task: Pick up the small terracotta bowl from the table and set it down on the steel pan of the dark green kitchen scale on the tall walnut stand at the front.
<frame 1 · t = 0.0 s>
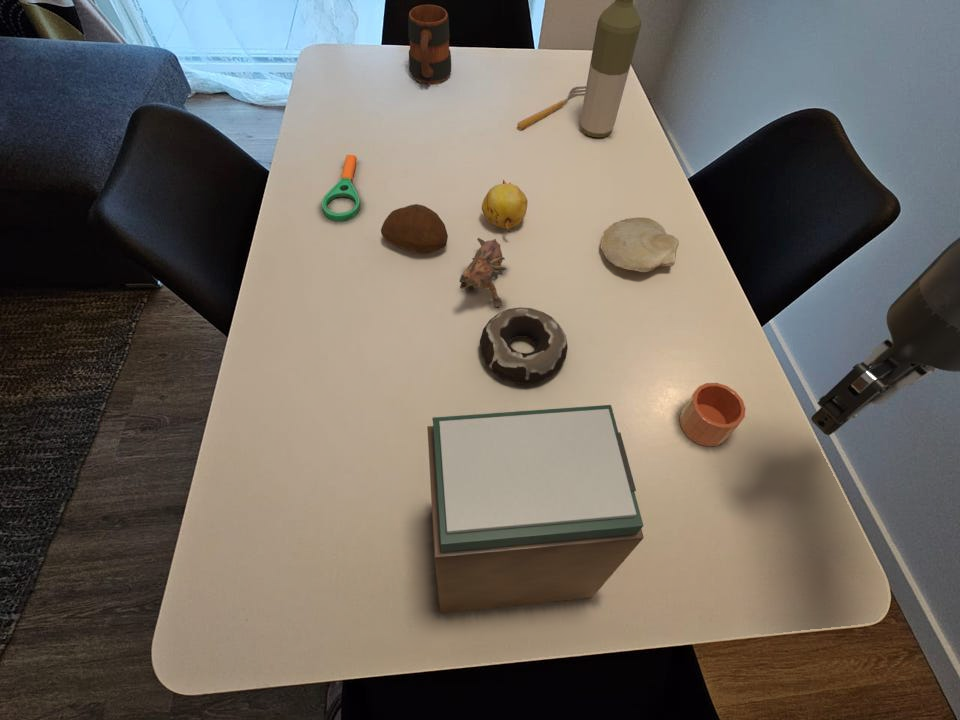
hand: (850, 407, 55), 16 cm above the table, tool pointing down, fingers open, 8 cm apart
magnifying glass: (345, 191, 96), on the table
dinosaur figurine: (485, 285, 85), on the table
stand: (510, 552, 62), on the table
scale: (530, 479, 46), resting on stand
donut: (522, 354, 78), on the table
fork: (554, 112, 112), on the table
bottle: (595, 131, 108), on the table
potato: (416, 244, 89), on the table
fruit: (503, 222, 93), on the table
seashell: (636, 255, 90), on the table
mug: (429, 79, 117), on the table
bowl: (704, 424, 72), on the table
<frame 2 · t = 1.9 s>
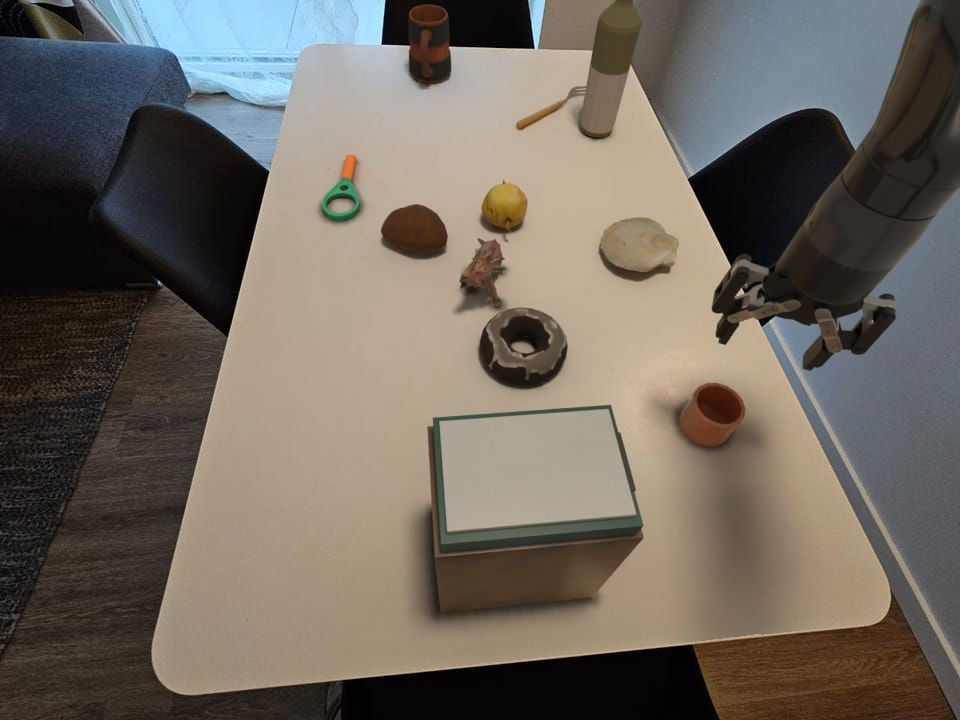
hand: (763, 350, 59), 16 cm above the table, tool pointing down, fingers open, 8 cm apart
nothing on the table moved.
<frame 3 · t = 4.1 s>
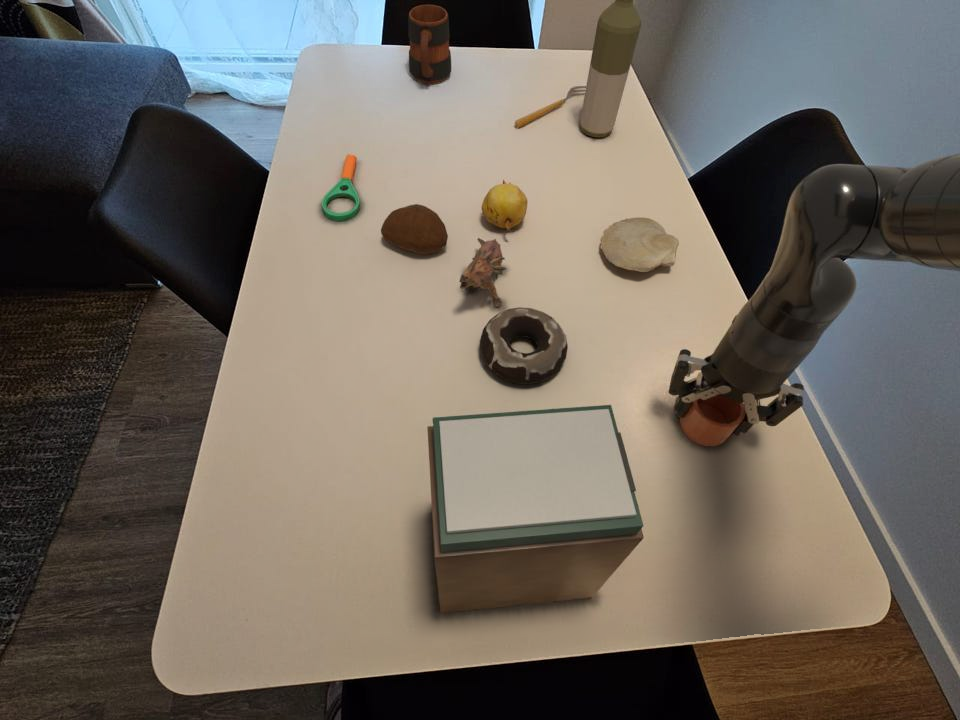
hand: (707, 419, 71), 1 cm above the table, tool pointing down, fingers closed on bowl, 6 cm apart
bowl: (704, 424, 72), on the table, touching gripper
everything else where it was.
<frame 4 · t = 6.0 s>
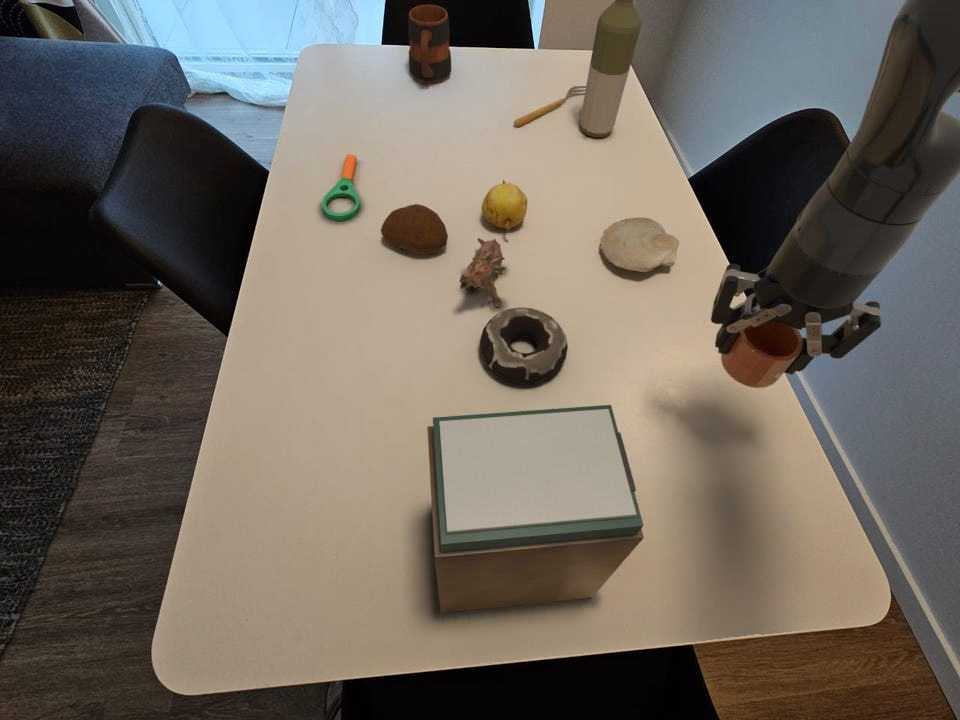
hand: (755, 357, 60), 15 cm above the table, tool pointing down, fingers closed on bowl, 6 cm apart
bowl: (750, 363, 61), point 14 cm above the table, touching gripper
everything else where it was.
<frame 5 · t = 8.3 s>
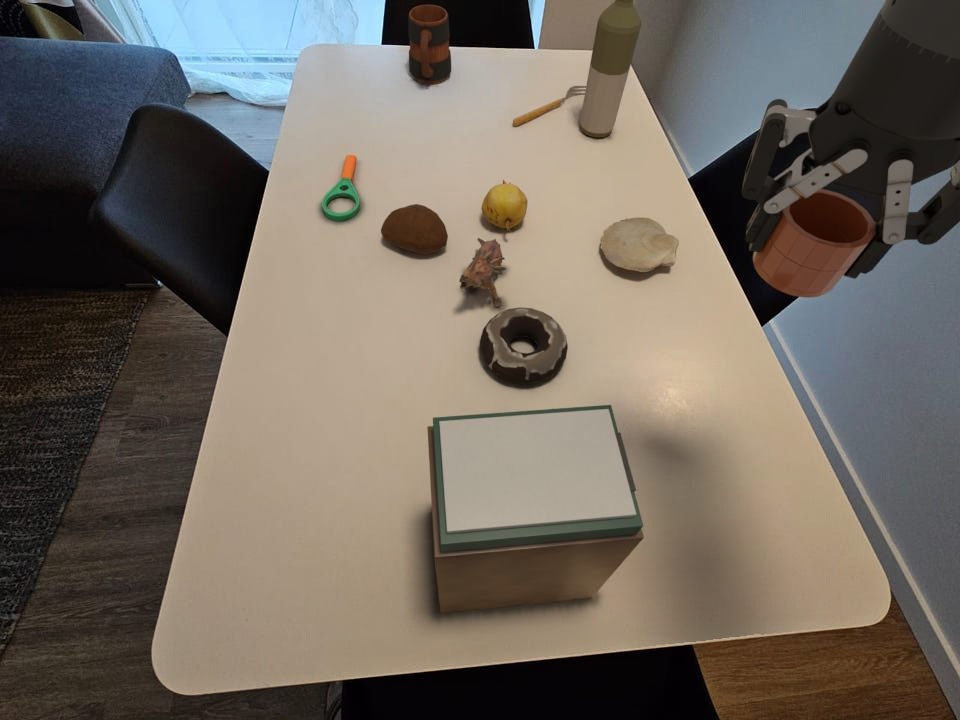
hand: (801, 256, 43), 33 cm above the table, tool pointing down, fingers closed on bowl, 6 cm apart
bowl: (793, 267, 44), point 32 cm above the table, touching gripper
everything else where it was.
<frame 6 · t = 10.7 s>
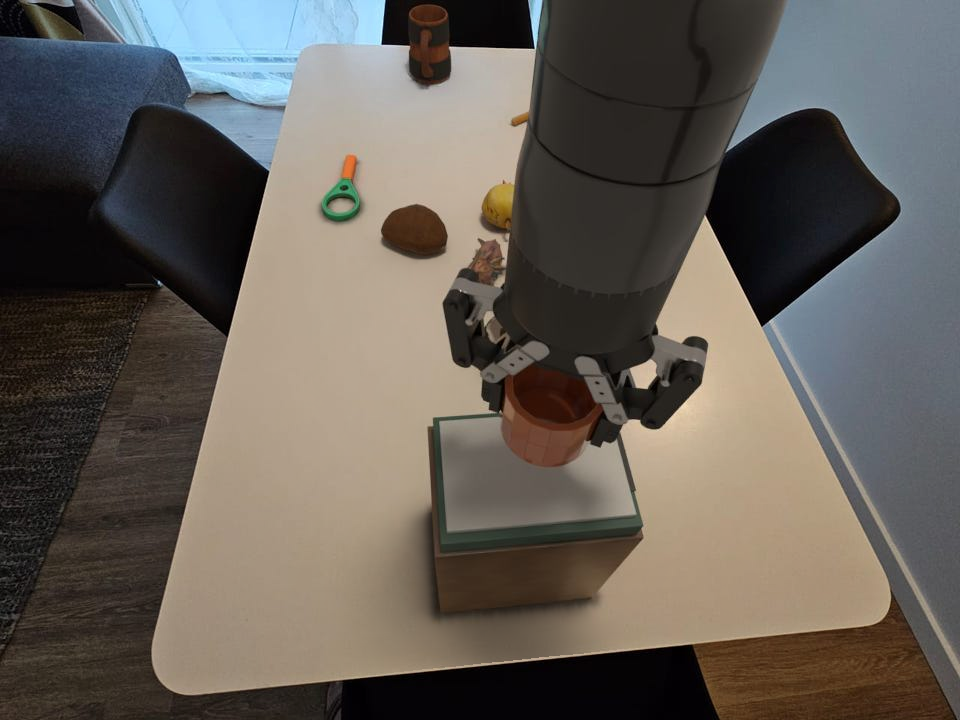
hand: (548, 417, 37), 30 cm above the table, tool pointing down, fingers closed on bowl, 6 cm apart
bowl: (545, 425, 38), point 29 cm above the table, touching gripper
everything else where it was.
when the fingers open (24 cm above the table, at t = 12.8 s): bowl stays where it is, resting on scale.
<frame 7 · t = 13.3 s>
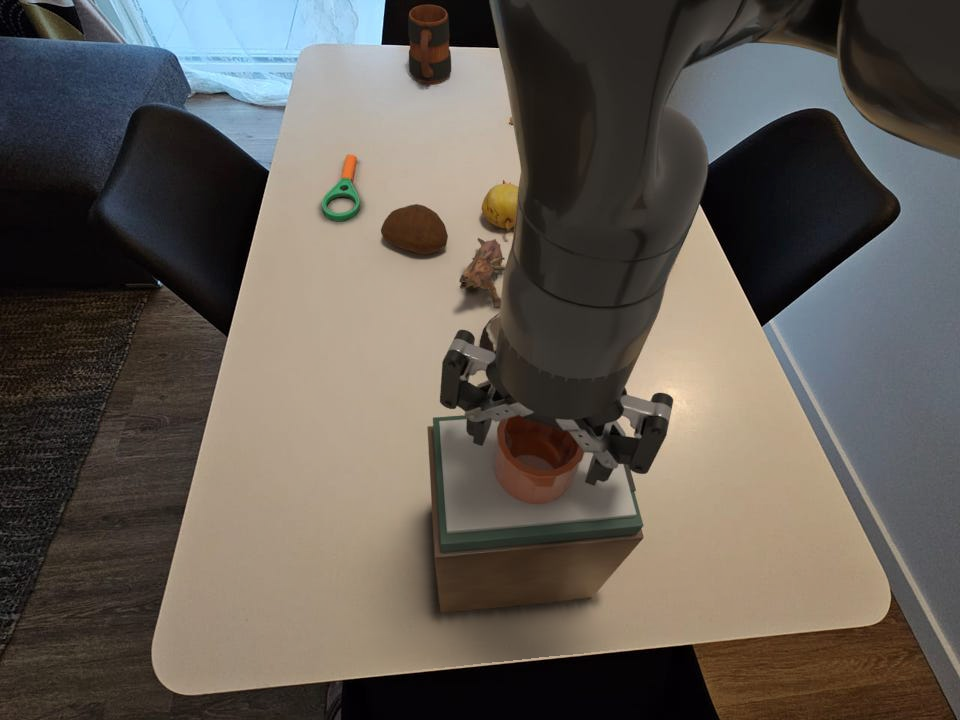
hand: (536, 453, 42), 25 cm above the table, tool pointing down, fingers open, 8 cm apart
bowl: (533, 465, 44), point 23 cm above the table, touching scale
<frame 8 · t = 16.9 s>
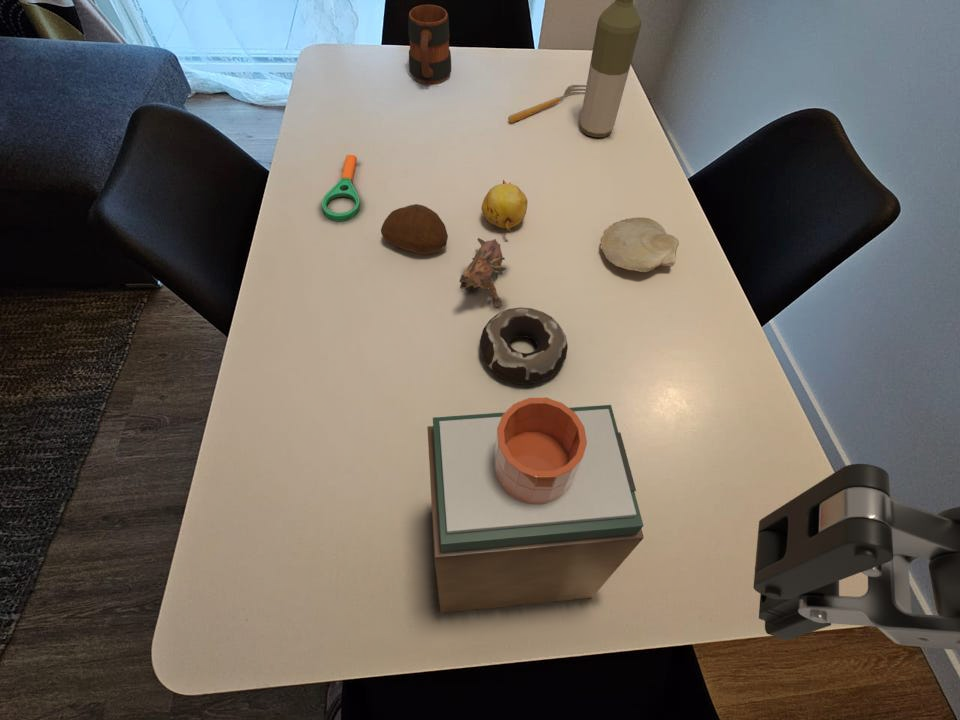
hand: (883, 652, 23), 38 cm above the table, tool pointing down, fingers open, 8 cm apart
at the end: bowl inside the target area on the scale (0.0 cm from its centre), point 2.6 cm above the scale's base; bowl tilted 0°; the gripper is holding nothing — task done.
